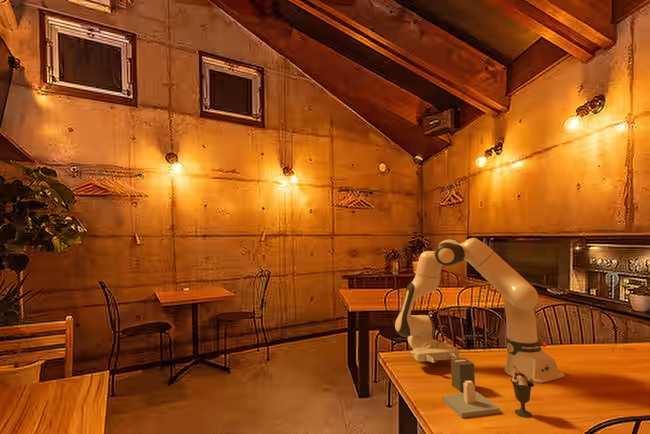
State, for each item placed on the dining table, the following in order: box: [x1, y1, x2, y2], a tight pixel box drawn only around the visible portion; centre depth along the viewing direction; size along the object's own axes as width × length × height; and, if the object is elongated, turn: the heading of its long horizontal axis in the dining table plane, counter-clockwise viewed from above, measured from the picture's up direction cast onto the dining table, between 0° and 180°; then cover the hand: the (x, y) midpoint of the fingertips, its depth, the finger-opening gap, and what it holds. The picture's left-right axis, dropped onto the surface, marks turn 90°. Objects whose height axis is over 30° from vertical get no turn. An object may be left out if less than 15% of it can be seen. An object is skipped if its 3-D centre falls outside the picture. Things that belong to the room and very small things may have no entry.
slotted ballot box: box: [450, 357, 476, 393], centre depth 129 cm, size 6×6×10 cm
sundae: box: [509, 366, 535, 419], centre depth 110 cm, size 7×7×15 cm
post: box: [441, 380, 501, 419], centre depth 115 cm, size 14×12×8 cm
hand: (445, 360), depth 141 cm, fingers open, 8 cm apart
